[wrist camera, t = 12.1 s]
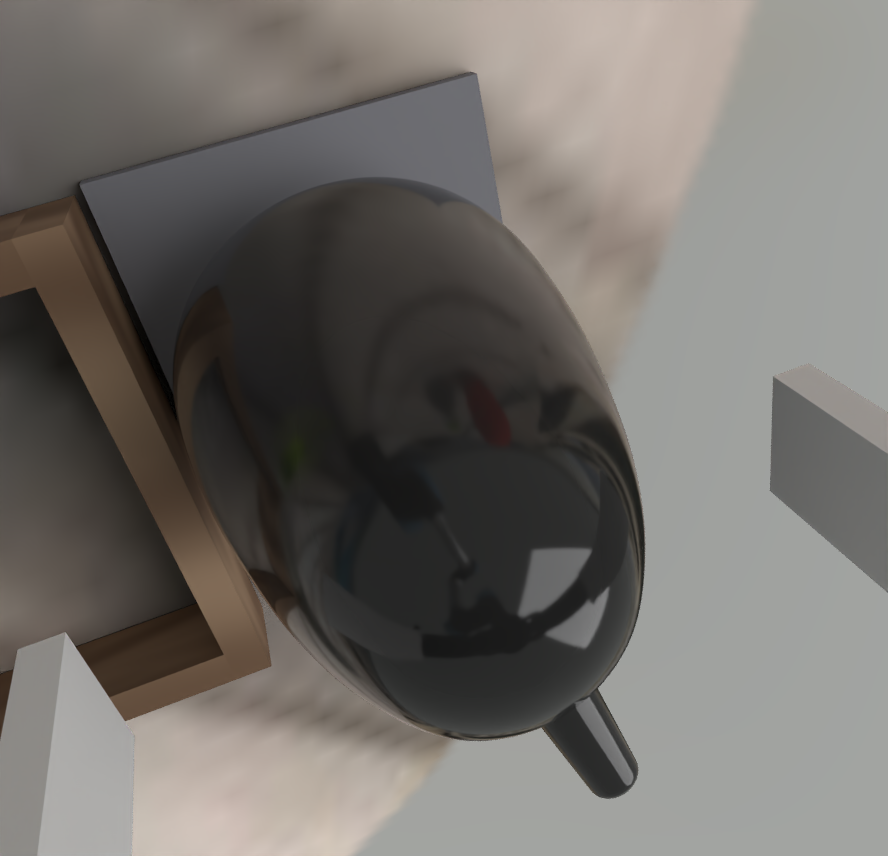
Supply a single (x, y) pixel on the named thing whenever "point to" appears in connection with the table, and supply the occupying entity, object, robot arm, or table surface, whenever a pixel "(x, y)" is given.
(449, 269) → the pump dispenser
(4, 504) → the table surface
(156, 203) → the rubber mat
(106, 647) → the frame
